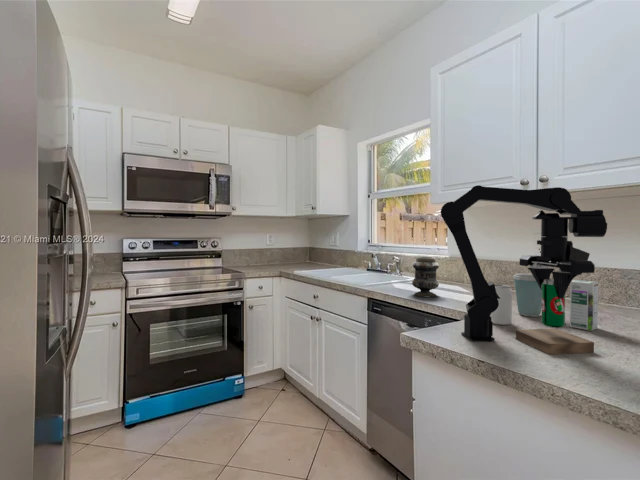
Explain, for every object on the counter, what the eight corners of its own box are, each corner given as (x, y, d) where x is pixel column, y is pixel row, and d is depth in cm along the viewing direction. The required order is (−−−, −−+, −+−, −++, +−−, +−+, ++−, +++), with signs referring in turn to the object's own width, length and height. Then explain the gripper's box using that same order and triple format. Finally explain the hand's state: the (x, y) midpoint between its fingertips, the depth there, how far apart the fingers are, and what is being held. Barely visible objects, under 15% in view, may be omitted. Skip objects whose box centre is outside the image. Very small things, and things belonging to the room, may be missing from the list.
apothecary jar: (435, 298, 151) (436, 258, 151) (408, 296, 157) (409, 257, 157) (441, 294, 162) (441, 256, 161) (415, 292, 168) (415, 255, 167)
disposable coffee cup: (505, 312, 125) (506, 271, 125) (527, 310, 129) (527, 270, 128) (532, 319, 115) (533, 275, 115) (554, 316, 119) (555, 273, 118)
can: (484, 321, 113) (485, 285, 113) (498, 319, 116) (499, 284, 115) (502, 326, 107) (502, 288, 107) (516, 324, 110) (516, 287, 109)
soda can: (543, 322, 93) (542, 278, 93) (565, 325, 89) (565, 279, 89) (540, 326, 89) (540, 280, 89) (564, 329, 86) (564, 281, 85)
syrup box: (569, 327, 106) (569, 280, 106) (576, 324, 109) (576, 279, 109) (591, 331, 101) (592, 283, 101) (598, 328, 105) (599, 281, 104)
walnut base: (548, 354, 83) (548, 343, 83) (515, 338, 95) (515, 329, 95) (593, 352, 84) (594, 342, 84) (555, 337, 96) (555, 328, 96)
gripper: (616, 237, 80) (615, 303, 81) (554, 236, 99) (553, 289, 99) (573, 237, 79) (571, 304, 80) (518, 236, 98) (517, 290, 98)
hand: (552, 296), depth 89 cm, fingers closed on soda can, 5 cm apart
